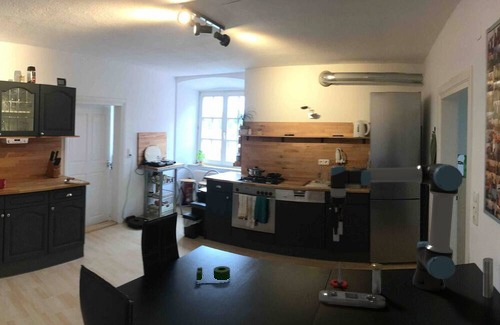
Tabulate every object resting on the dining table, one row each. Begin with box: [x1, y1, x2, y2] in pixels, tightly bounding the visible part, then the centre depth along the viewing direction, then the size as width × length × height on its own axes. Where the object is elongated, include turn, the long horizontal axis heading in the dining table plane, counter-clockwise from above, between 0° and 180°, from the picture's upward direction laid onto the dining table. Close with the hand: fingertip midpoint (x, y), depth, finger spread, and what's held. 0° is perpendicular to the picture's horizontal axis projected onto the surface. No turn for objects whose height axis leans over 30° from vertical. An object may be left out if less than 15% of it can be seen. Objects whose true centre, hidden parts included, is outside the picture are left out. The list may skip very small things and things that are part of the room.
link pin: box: [370, 262, 384, 295], centre depth 169 cm, size 5×5×14 cm
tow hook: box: [330, 262, 348, 289], centre depth 180 cm, size 8×13×9 cm
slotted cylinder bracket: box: [195, 265, 231, 280], centre depth 186 cm, size 18×9×6 cm, turn 94°
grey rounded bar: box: [318, 289, 386, 309], centre depth 159 cm, size 30×8×4 cm, turn 77°
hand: (337, 237), depth 173 cm, fingers open, 13 cm apart
